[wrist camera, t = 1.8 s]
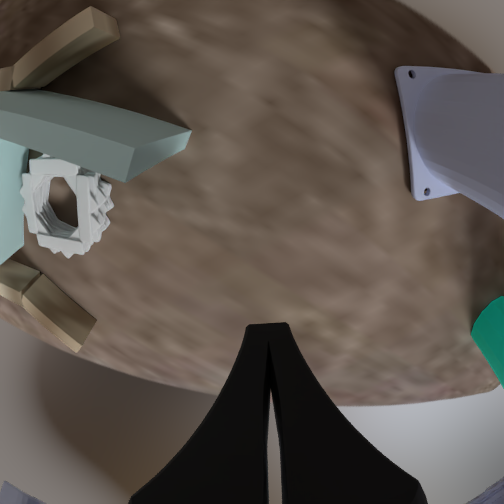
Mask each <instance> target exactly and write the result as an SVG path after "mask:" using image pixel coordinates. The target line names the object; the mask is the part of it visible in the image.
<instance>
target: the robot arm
mask: <svg viewBox="0 0 504 504" xmlns="http://www.w3.org/2000/svg"><path fill="white" fill-rule="evenodd" d="M409 71H410V72H411V73H412V78H410V77H409V75H408V72H409ZM394 73H395V79H396V83H397V87H398V92H399V97H400V102H401V107H402V113H403V119H404V125H405V132H406V139H407V147H408V156H409V166H410V179H411V193H412V196H413V198H414V199H416V200H418V201H422V200H427V199H432V198H437V197H442V196H446V195H451V194H456V193H461V194H463V195H465V196H467V197H469V198H470V199H472V200H474V201H475V202H477V203H479V204H481V205H482V206H484V207H486V208H487V209H489V210H490V211H492V212H494V213H495V214H497V215H498V216H500V217H501V218H503V219H504V74H501V73H500V74H499V73H480V72H474V71H467V70H459V69H450V68H439V67H423V66H400V67H397V68H396V69H395V71H394ZM426 188H427V192H426V193H425V194H424V190H425V189H426ZM270 391H271V393H272V399H273V405H274V412H275V419H276V425H277V431H278V437H279V446H280V461H281V483H282V504H428V503H427V499H426V496H425V494H424V491H423V489H422V487H421V485H420V483H419V481H418V480H417V479H415V478H414V477H412V476H411V475H409V474H408V473H407V472H405V471H404V470H402V469H401V468H400V467H398V466H397V465H396V464H394V463H393V462H392V461H390V460H389V459H388V458H387V457H386V456H384V455H383V454H382V453H381V452H380V451H378V450H377V449H376V448H375V447H374V446H373V445H372V444H371V443H370V442H369V441H368V440H367V439H366V438H365V437H363V435H362V434H361V433H360V432H358V431H357V430H356V429H355V428H354V426H353V425H352V424H351V423H350V422H349V421H348V420H347V419H346V418H345V416H344V415H343V414H342V413H341V412H340V410H339V409H338V408H337V407H336V406H335V404H334V403H333V402H332V400H331V399H330V398H329V396H328V395H327V394H326V392H325V391H324V389H323V388H322V387H321V385H320V384H319V382H318V381H317V379H316V378H315V376H314V375H313V373H312V371H311V370H310V368H309V366H308V364H307V363H306V361H305V359H304V358H303V356H302V354H301V352H300V350H299V348H298V346H297V344H296V342H295V340H294V337H293V335H292V333H291V330H290V327H289V324H287V323H286V322H282V323H267V324H249V325H248V326H247V327H246V330H245V335H244V338H243V342H242V345H241V348H240V350H239V353H238V356H237V358H236V361H235V363H234V365H233V368H232V370H231V372H230V374H229V376H228V379H227V380H226V382H225V384H224V386H223V388H222V390H221V392H220V394H219V396H218V397H217V399H216V401H215V403H214V404H213V406H212V407H211V409H210V411H209V412H208V414H207V415H206V417H205V418H204V420H203V421H202V423H201V424H200V426H199V427H198V428H197V429H196V431H195V432H194V434H193V435H192V436H191V437H190V439H189V440H188V441H187V443H186V444H185V445H184V446H183V447H182V449H181V450H180V451H179V452H178V453H177V454H176V455H175V456H174V457H173V458H172V460H171V461H170V462H169V463H168V464H167V465H166V466H165V467H164V468H163V469H162V470H161V471H160V472H159V473H158V474H157V475H156V476H155V477H154V478H152V479H151V480H150V481H149V482H148V483H147V484H145V485H144V486H143V487H142V488H141V489H139V490H138V491H137V492H136V493H135V494H133V496H131V498H130V500H129V503H128V504H269V491H268V460H267V440H268V424H269V409H270ZM0 504H46V503H45V502H43V501H41V500H39V499H37V498H35V497H32V496H30V495H28V494H27V493H25V492H23V491H21V490H20V489H18V488H17V487H15V486H13V485H12V484H10V483H9V482H7V481H4V482H3V486H2V489H1V492H0ZM466 504H504V477H503V478H501V479H500V480H499V481H498V482H496V483H495V484H493V485H492V486H490V487H489V488H487V489H486V490H485V492H483V493H482V494H480V495H479V496H477V497H476V498H474V499H472V500H471V501H469V502H467V503H466Z"/></svg>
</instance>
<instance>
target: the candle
mask: <svg viewBox="0 0 504 504" xmlns="http://www.w3.org/2000/svg"><path fill="white" fill-rule="evenodd" d="M471 336H472V338H473V340H474V341H475V343H476V344H477V346H478V347H479V349H480V350H481V352H482V354H483V355H484V357H485V358H486V360H487V361H488V363H489V365H490V366H491V368H492V369H493V371H494V373H495V374H496V376H497V378H498V380H499V381H500V383H501V385H502V386H503V388H504V296H500V297H499V298H497V299H495V300H493V301H492V302H491V303H490V304H489V305H488V306H487V307H486V308H485V309H484V310H483V311H482V312H481V314H480V315H479V317H478V318H477V320H476V322H475V323H474V325H473V329H472V332H471Z"/></svg>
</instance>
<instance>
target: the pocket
mask: <svg viewBox="0 0 504 504" xmlns="http://www.w3.org/2000/svg"><path fill="white" fill-rule="evenodd" d="M118 39H120V34H119V29H118V25H117V20H116V19H115V18H113V17H111V16H109V15H107V14H105V13H104V12H102V11H100V10H98V9H96V8H94V7H92V6H90V7H88V8H86V9H85V10H83V11H82V12H80V13H79V14H77V15H75V16H74V17H73V18H71V19H70V20H68V21H67V22H65V23H64V24H62V25H61V26H60V27H58V28H57V29H56V30H54V31H53V32H52V33H50V34H49V35H48V36H47V37H45V38H44V39H43V40H42V41H40V42H39V43H38V44H37V45H35V46H34V47H33V48H32V49H31V50H30V51H29V52H27V53H26V54H25V55H24V56H23V57H22V58H21V59H20V60H19V61H18V62H16V63H15V64H14V65H13V66H10V67H5V68H1V69H0V91H9V90H22V89H38V88H41V87H45V86H46V85H47V84H49V83H50V82H51V81H53V80H54V79H55V78H57V77H58V76H60V75H61V74H62V73H64V72H65V71H67V70H68V69H70V68H71V67H73V66H74V65H76V64H77V63H79V62H80V61H82V60H83V59H85V58H87V57H88V56H90V55H91V54H93V53H95V52H97V51H98V50H100V49H102V48H104V47H105V46H107V45H109V44H111V43H113V42H115V41H116V40H118ZM0 295H1V296H3V297H5V298H7V299H9V300H10V301H12V302H14V303H16V304H18V305H20V306H22V307H23V308H24V309H25V310H26V311H27V312H28V313H30V314H31V315H32V316H33V317H34V318H35V319H36V320H37V321H38V322H39V323H40V324H42V325H43V326H44V327H45V328H46V329H47V330H49V331H50V332H51V333H52V334H53V335H54V336H56V337H57V338H58V339H59V340H61V341H62V342H63V343H64V344H66V345H67V346H68V347H69V348H71V349H72V350H73V351H75V352H76V353H77V352H78V351H79V349H80V348H81V347H82V345H83V343H84V341H85V340H86V338H87V336H88V335H89V333H90V331H91V329H92V328H93V326H94V324H95V323H96V321H97V320H96V319H95V318H93V317H92V316H91V315H90V314H88V313H87V312H86V311H85V310H83V309H82V308H81V307H80V306H79V305H77V304H76V303H75V302H74V301H73V300H72V299H70V298H69V297H68V296H67V295H66V294H65V293H64V292H62V291H61V290H60V289H59V288H58V287H57V286H56V285H55V284H54V283H53V282H51V281H50V280H49V279H48V278H47V277H46V276H45V275H44V274H42V275H40V271H38V270H35V269H33V268H30V267H28V266H25V265H23V264H20V263H18V262H16V261H13V260H11V259H9V258H8V259H7V260H6V261H5V262H3V263H2V264H1V265H0Z"/></svg>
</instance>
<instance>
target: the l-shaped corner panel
mask: <svg viewBox="0 0 504 504" xmlns="http://www.w3.org/2000/svg"><path fill="white" fill-rule="evenodd" d="M191 132H192V130H189V129H186V128H183V127H180V126H177V125H174V124H171V123H168V122H165V121H162V120H159V119H156V118H153V117H150V116H146V115H143V114H140V113H136V112H133V111H129V110H126V109H122V108H119V107H115V106H111V105H108V104H104V103H100V102H96V101H92V100H87V99H83V98H79V97H74V96H70V95H65V94H60V93H55V92H50V91H44V90H38V89H22V90H9V91H0V265H1V264H2V263H3V262H5V261H6V260H7V259H8V258H9V257H10V256H11V255H13V254H14V253H15V252H16V251H17V250H19V249H20V248H21V247H22V246H24V214H25V215H26V217H27V222H28V228H29V231H30V232H31V233H35V234H37V239H38V243H39V245H40V246H43V247H47V248H50V250H51V251H52V252H53V253H54V254H55V253H56V252H60V251H61V252H62V253H63V254H64V255H65V256H66V257H67V258H70V257H71V256H72V255H73V254H74V253H76V254H81V255H84V252H88V251H89V249H90V245H92V244H93V243H94V242H99V241H100V239H101V234H102V231H104V230H106V228H107V227H108V226H109V224H110V220H109V219H108V217H107V216H106V212H107V211H108V210H110V209H112V208H113V207H114V204H113V202H112V200H111V198H110V192H111V184H109V183H107V182H105V181H102V180H101V179H100V175H101V174H102V175H105V176H108V177H111V178H113V179H116V180H119V181H121V182H124V183H126V182H127V181H129V180H131V179H132V178H134V177H136V176H137V175H139V174H141V173H142V172H144V171H146V170H147V169H149V168H151V167H152V166H154V165H156V164H158V163H160V162H161V161H163V160H165V159H167V158H169V157H170V156H172V155H174V154H176V153H178V152H180V151H182V150H183V149H185V147H186V144H187V142H188V139H189V137H190V134H191ZM29 148H30V149H32V150H35V151H38V152H41V153H43V155H42V156H40V157H38V158H37V159H30V160H29V166H30V172H29V173H26V170H27V162H28V154H29ZM53 177H64V179H65V180H66V182H67V183H68V185H69V186H70V188H71V189H72V190H73V192H74V193H75V195H76V196H77V213H78V227H77V228H75V227H73V226H71V225H69V224H66V223H64V222H62V221H60V220H58V218H57V216H56V215H55V213H54V211H53V209H52V207H51V206H50V204H49V202H48V197H49V188H50V180H51V179H52V178H53ZM24 201H25V203H24Z"/></svg>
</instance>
